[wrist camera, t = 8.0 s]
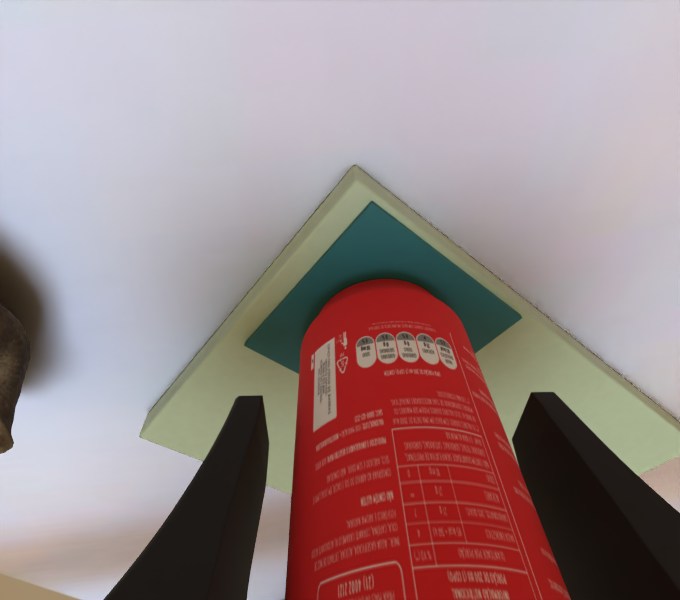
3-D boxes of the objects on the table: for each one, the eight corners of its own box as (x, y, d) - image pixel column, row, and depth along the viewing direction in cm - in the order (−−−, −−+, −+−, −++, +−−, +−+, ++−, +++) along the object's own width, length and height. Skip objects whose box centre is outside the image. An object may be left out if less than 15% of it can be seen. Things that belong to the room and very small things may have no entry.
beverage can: (488, 294, 14) (868, 1041, 4) (414, 397, 17) (536, 980, 7) (334, 244, 12) (368, 1142, 3) (282, 365, 15) (214, 1018, 6)
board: (458, 539, 27) (464, 564, 26) (147, 413, 19) (135, 441, 18) (682, 424, 20) (703, 450, 19) (354, 162, 13) (357, 182, 11)
